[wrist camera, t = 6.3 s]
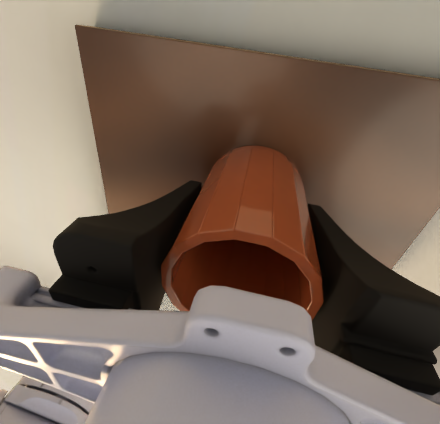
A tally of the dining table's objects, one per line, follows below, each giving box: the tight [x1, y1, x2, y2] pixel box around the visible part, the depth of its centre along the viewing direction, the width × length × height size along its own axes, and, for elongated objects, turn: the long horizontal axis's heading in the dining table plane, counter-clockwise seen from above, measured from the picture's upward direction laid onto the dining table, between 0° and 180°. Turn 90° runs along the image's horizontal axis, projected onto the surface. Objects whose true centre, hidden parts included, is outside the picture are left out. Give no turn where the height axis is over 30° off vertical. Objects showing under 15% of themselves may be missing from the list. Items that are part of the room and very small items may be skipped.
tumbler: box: [161, 146, 324, 320], centre depth 12 cm, size 6×6×8 cm
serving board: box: [75, 25, 440, 269], centre depth 15 cm, size 14×20×2 cm
